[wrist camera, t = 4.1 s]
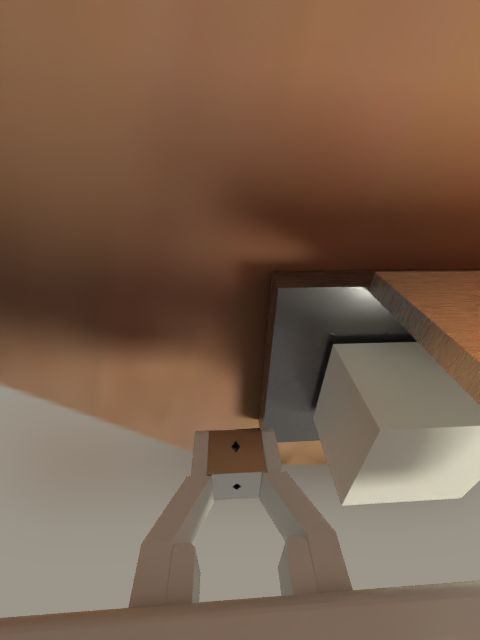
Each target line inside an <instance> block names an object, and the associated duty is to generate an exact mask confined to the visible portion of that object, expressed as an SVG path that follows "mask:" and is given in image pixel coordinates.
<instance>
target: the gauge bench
mask: <svg viewBox="0 0 480 640" xmlns="http://www.w3.org/2000/svg"><path fill="white" fill-rule="evenodd" d="M393 342H418V343H419V344H420V345H421V346H422V347H423V348H424V349H425V350H426V351H427V352H428V353H429V354H430V355H431V356H432V357H433V358H434V359H435V360H436V361H437V362H438V363H439V364H440V365H441V366H442V367H443V368H444V369H445V370H446V372H447V373H448V374H449V375H450V376H451V377H452V378H453V379H454V380H455V381H456V382H457V383H458V384H459V385H460V386H461V387H462V388H463V389H464V390H465V391H466V392H467V393H468V394H469V395H470V396H471V397H472V398H473V399H474V400H475V401H476V402H477V403H478V404H479V406H480V269H449V270H351V271H272V275H271V286H270V298H269V309H268V320H267V332H266V343H265V354H264V366H263V377H262V388H261V400H260V411H259V427H260V428H274V430H275V434H276V440H277V442H294V441H315V440H320V438H319V435H318V432H317V429H316V426H315V423H314V420H313V417H314V413H315V409H316V406H317V402H318V398H319V395H320V391H321V387H322V383H323V380H324V376H325V372H326V369H327V365H328V361H329V358H330V354H331V350H332V346H333V344H355V343H393Z"/></svg>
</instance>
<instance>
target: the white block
mask: <svg viewBox="0 0 480 640" xmlns="http://www.w3.org/2000/svg"><path fill="white" fill-rule="evenodd" d="M313 420H314V423H315V426H316V429H317V432H318V435H319V438H320V441H321V444H322V448H323V451H324V454H325V457H326V460H327V463H328V466H329V469H330V472H331V475H332V478H333V481H334V484H335V487H336V490H337V493H338V496H339V499H340V502H341V505H357V504H373V503H388V502H405V501H421V500H437V499H453V498H461V497H462V496H464V494H466V493H467V492H468V491H469V490H470V489H471V488H472V487H473V486H474V485H475V484H476V483H477V482H478V481H479V480H480V406H479V404H478V403H477V402H476V401H475V400H474V399H473V398H472V397H471V396H470V395H469V394H468V393H467V392H466V391H465V390H464V389H463V388H462V387H461V386H460V385H459V384H458V383H457V382H456V381H455V380H454V379H453V378H452V377H451V376H450V375H449V374H448V373H447V372H446V370H445V369H444V368H443V367H442V366H441V365H440V364H439V363H438V362H437V361H436V360H435V359H434V358H433V357H432V356H431V355H430V354H429V353H428V352H427V351H426V350H425V349H424V348H423V347H422V346H421V345H420V344H419V343H418V342H393V343H355V344H333V346H332V350H331V354H330V358H329V361H328V365H327V369H326V372H325V376H324V380H323V383H322V387H321V391H320V395H319V398H318V402H317V406H316V409H315V413H314V417H313Z"/></svg>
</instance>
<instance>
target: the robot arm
mask: <svg viewBox="0 0 480 640" xmlns="http://www.w3.org/2000/svg"><path fill="white" fill-rule="evenodd" d="M236 498H260V501H261V502H262V504H263V506H264V507H265V509H266V511H267V512H268V514H269V516H270V517H271V519H272V521H273V522H274V524H275V526H276V527H277V529H278V530H279V532H280V534H281V535H282V537H283V539H284V540H285V542H286V543H285V546H284V549H283V552H282V556H281V559H280V562H279V565H278V571H279V580H280V588H281V596H276V597H262V598H249V599H237V600H224V601H212V602H199V593H200V569H199V565H198V560H197V555H196V550H195V547H194V546H193V545H192V544H193V542H194V540H195V538H196V536H197V535H198V533H199V531H200V529H201V526H202V524H203V523H204V521H205V519H206V516H207V515H208V513H209V511H210V509H211V507H212V505H213V503H214V500H225V499H236ZM0 640H480V581H467V582H454V583H442V584H428V585H415V586H403V587H390V588H377V589H364V590H352V586H351V583H350V579H349V576H348V573H347V569H346V566H345V562H344V559H343V555H342V552H341V549H340V545H339V542H338V538H337V535H336V532H335V531H334V529H333V528H332V527H331V526H330V524H329V523H328V522H327V521H326V520H325V518H324V517H323V516H322V515H321V514H320V512H319V511H318V510H317V509H316V507H315V506H314V505H313V504H312V502H311V501H310V500H309V499H308V498H307V497H306V495H305V494H304V493H303V491H302V490H301V489H300V488H299V486H298V485H297V484H296V483H295V482H294V480H293V479H292V478H291V477H290V475H289V474H288V473H287V472H282V467H281V461H280V456H279V451H278V445H277V440H276V434H275V430H274V428H250V429H235V430H213V431H209V430H207V431H196V432H195V437H194V448H193V459H192V470H191V476H189V477H186V479H185V480H184V482H183V483H182V485H181V486H180V488H179V489H178V491H177V492H176V494H175V495H174V497H173V498H172V500H171V501H170V502H169V504H168V506H167V507H166V508H165V510H164V511H163V513H162V515H161V516H160V517H159V519H158V520H157V522H156V523H155V525H154V526H153V528H152V529H151V531H150V532H149V534H148V535H147V536H146V538H145V540H144V541H143V543H142V544H141V548H140V553H139V559H138V563H137V568H136V573H135V578H134V583H133V588H132V593H131V598H130V603H129V608H122V609H110V610H96V611H84V612H71V613H59V614H45V615H32V616H19V617H7V618H0Z"/></svg>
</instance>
